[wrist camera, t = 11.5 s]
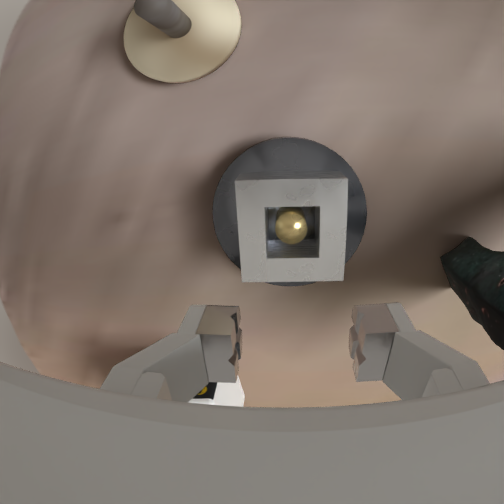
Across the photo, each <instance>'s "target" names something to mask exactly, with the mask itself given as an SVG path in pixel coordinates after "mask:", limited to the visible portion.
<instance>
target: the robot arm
mask: <svg viewBox="0 0 504 504" xmlns="http://www.w3.org/2000/svg"><path fill="white" fill-rule="evenodd" d="M240 320H241V315H240V308H239V306H220V305H191V306H190V307H189V309H188V311H187V313H186V315H185V317H184V319H183V322H182V324H181V326H180V328H179V330H178V332H177V333H172V334H170V335H168V336H166V337H165V338H163V339H161V340H159V341H158V342H156V343H154V344H152V345H150V346H149V347H147V348H145V349H143V350H142V351H140V352H138V353H136V354H134V355H133V356H131V357H129V358H127V359H125V360H124V361H122V362H120V363H118V364H116V365H114V366H113V368H112V369H111V371H110V373H109V374H108V376H107V378H106V379H105V381H104V382H103V384H102V386H101V387H100V389H98V388H93V387H88V386H84V385H79V384H75V383H71V382H67V381H63V380H59V379H55V378H51V377H48V376H44V375H40V374H37V373H33V372H30V371H26V370H23V369H20V368H17V367H14V366H11V365H8V364H5V363H2V362H0V504H504V380H503V381H500V382H496V383H492V384H490V383H489V381H488V379H487V378H486V376H485V374H484V373H483V371H482V369H481V368H480V366H479V365H478V363H477V362H476V361H474V360H473V359H471V358H469V357H467V356H465V355H464V354H462V353H460V352H458V351H457V350H455V349H453V348H451V347H449V346H448V345H446V344H444V343H442V342H440V341H439V340H437V339H435V338H433V337H431V336H430V335H428V334H426V333H424V332H422V331H421V330H419V331H416V329H415V328H414V326H413V324H412V322H411V320H410V319H409V317H408V315H407V313H406V312H405V310H404V308H403V306H402V305H401V303H399V302H396V303H384V304H370V305H355V306H354V307H353V310H352V320H353V324H354V325H353V326H352V327H351V328H350V333H349V352H350V357H351V358H352V359H353V360H354V363H353V370H354V374H355V378H356V382H360V381H379V380H383V382H384V383H385V384H386V385H387V386H388V387H389V388H390V389H391V390H392V391H393V392H394V393H395V394H396V395H398V396H399V397H400V398H401V399H402V400H400V401H392V402H383V403H373V404H362V405H349V406H332V407H302V408H271V407H240V406H223V405H209V404H198V403H188V402H189V401H190V400H191V399H192V398H193V397H194V396H195V395H197V394H198V393H199V392H200V391H201V390H202V389H203V388H204V387H205V386H206V385H207V384H208V382H221V383H236V381H237V376H238V371H239V363H238V360H239V359H241V354H242V330H241V329H240V327H239V325H240Z"/></svg>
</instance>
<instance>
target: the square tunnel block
mask: <svg viewBox="0 0 504 504" xmlns="http://www.w3.org/2000/svg"><path fill="white" fill-rule="evenodd" d="M235 192H236V207H237V221H238V235H239V249H240V262H241V276H242V282H306V281H343V279H344V265H345V249H346V230H347V202H348V178H346V177H345V176H344V175H343V174H342V173H341V172H340V171H265V172H241V174H240V175H239V176H238V177H237V179H236V180H235ZM300 206H315V239H303V240H302V241H300V242H298V243H296V244H287V243H284V242H282V241H281V240H269V234H268V209H267V207H300Z"/></svg>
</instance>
